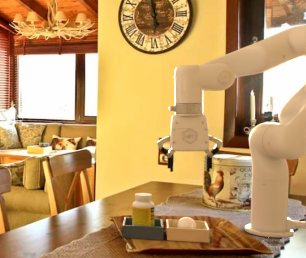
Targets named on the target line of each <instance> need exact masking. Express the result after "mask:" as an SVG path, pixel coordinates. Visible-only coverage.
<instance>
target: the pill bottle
mask: <svg viewBox="0 0 306 258" xmlns="http://www.w3.org/2000/svg"><path fill="white" fill-rule="evenodd" d="M134 199H135V201H133V202H132V205H131V209H132V212H131V213H132V214H131V217H132V225H133V226H152V227H154V219H155V208H156V207H155V203H154V202H153V201H152V199H153V194H152V193H150V192H149V193H148V192H137V193H134Z"/></svg>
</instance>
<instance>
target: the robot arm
mask: <svg viewBox="0 0 306 258" xmlns="http://www.w3.org/2000/svg"><path fill="white" fill-rule="evenodd" d="M301 57H306V24H304V25H298V26H294V27H290V28H287V29H285V30H282V31H280V32H278V33H275V34H273V35H271V36H269V37H266V38H264V39H261V40H259V41H257V42H254V43H252V44H249V45H246V46H244V47H241V48H239V49H237V50H234V51H232V52H229V53H226V54H224V55H221V56H218V57H216V58H213V59H211V60H209V61H206V62H204V63H202V64H200V65H199V64H185V65H184V64H183V65H178V66H176V67H175V69H174V73H173V74H174V75H173V79H174V81H173V82H174V83H173V85H174V104H173V105H169V107H168V110H169V112H173V113H174V114H172V115H171V119H170V130H169V131H170V132H169V135H167V136H165V137H163V138H161V139H159V140H157V142H156V145H157V147H158V149H159V150H160V151H161V153H162V154H164V155H165V157H166V159H167V169H169V172H170V173H172V172H174V157H173V155H174V154H175V153H176V152H204V153H205V154H206V156H205V172H206V173H210V172H211V170H212V169H213V157H214V156H215V155H217V153H218V152H219V151H220V150H221V147H222V145H223V141H222V140H221V139H218V138H217V137H214V136H213V135H210V131H209V120H208V116H207V114H204V92H208V91H209V92H218V91H219V92H220V91H226V90H228V89H229V88H231V86H233V85H234V83H235V81H236V79H237V78H241V77H246V76H247V77H248V76H253V75H258V74H262V73H265V72H269V71H270V70H273V69H275V68H277V67H279V66H281V65H284V64H286V63H289V62H291V61H293V60H295V59H298V58H301ZM277 117H278V121H279V122H272V121H271V122H267V121H266V122H262V123H259V124H257V125H256V126H254V127H253V128H252V130H251V131H250V134H249V136H248V146H249V153H250V158H251V184H250V185H251V190H250V191H251V192H250V223H247V224H245V226H244V231H245V232H247V233H248V234H251V235H254V236H258V237H265V238H274V239H277V238H278V239H281V238H289V237H292V236H294V229H306V221H300V220H299V219H297V220H296V219H291V218H290V217H289V184H290V183H289V182H290V181H289V179H290V170H289V165H288V161H287V160H299V159H300V158H302V157H304V156H305V155H306V81H305V82H304V83H303V84H302V85H301V86H300V87H299V89H297V90H296V92H295V93H293V94H292V95H291V97H289V98H288V99H287V100H286V102H284V103H283V104H282V105H281V107H280V108H279V111H278V116H277ZM210 141H211V142H213V143H214V144H215V145H214V147H213V148H212V149H211V150H210ZM168 142H169V144H170V149H168V150H167V149H166V148H165V146H164V144H166V143H168Z"/></svg>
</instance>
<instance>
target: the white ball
mask: <svg viewBox="0 0 306 258" xmlns="http://www.w3.org/2000/svg"><path fill="white" fill-rule="evenodd" d="M178 220H179V221H178V228H189V229H196V224H195V222H194V220H195V219H193V218H191V217H190V216H184V217H181V218H180V219H178Z"/></svg>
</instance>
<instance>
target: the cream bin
mask: <svg viewBox="0 0 306 258" xmlns="http://www.w3.org/2000/svg"><path fill="white" fill-rule="evenodd" d="M179 220H180V219H175V218H173V219H171V218H166V219H165V232H166V233H165V234H166V240H167V241H173V242H174V241H175V242H191V243H192V242H193V243H208V244H210V243H211V230H210V226H209V225H208V223H207V221H206V220H195V219H193V220H194V222H195V224H196V229H189V228H178V221H179Z"/></svg>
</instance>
